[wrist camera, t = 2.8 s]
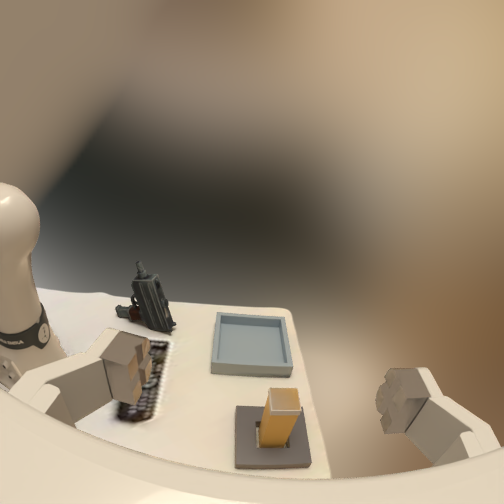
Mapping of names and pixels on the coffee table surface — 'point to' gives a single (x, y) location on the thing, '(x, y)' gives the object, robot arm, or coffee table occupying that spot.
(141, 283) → the gun
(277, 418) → the block
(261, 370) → the parts tray
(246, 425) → the block
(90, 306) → the coffee table surface
